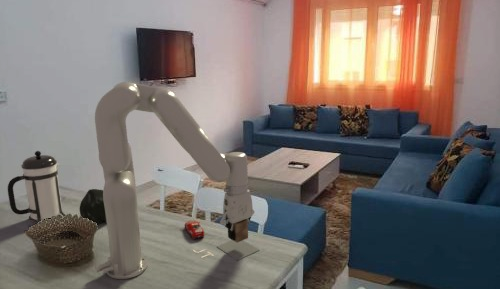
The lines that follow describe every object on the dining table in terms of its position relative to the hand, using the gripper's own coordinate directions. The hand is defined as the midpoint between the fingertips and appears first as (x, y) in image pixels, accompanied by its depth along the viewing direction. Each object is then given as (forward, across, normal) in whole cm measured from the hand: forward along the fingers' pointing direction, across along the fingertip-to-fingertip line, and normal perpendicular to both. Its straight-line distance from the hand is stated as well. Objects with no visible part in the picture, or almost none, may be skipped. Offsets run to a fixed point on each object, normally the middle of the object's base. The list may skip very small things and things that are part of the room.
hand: (238, 235), depth 130 cm
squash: (+5, -29, +58) cm, 65 cm away
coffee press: (+5, -47, +74) cm, 88 cm away
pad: (+5, 0, 0) cm, 5 cm away
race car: (+5, -5, +21) cm, 22 cm away
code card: (+5, -11, +6) cm, 14 cm away
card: (+5, -4, +21) cm, 22 cm away
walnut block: (+1, 0, 0) cm, 1 cm away
